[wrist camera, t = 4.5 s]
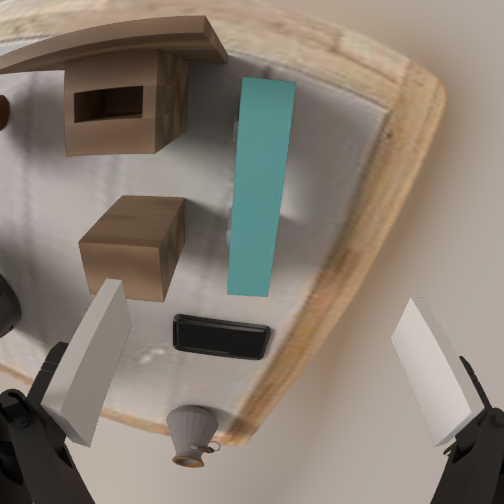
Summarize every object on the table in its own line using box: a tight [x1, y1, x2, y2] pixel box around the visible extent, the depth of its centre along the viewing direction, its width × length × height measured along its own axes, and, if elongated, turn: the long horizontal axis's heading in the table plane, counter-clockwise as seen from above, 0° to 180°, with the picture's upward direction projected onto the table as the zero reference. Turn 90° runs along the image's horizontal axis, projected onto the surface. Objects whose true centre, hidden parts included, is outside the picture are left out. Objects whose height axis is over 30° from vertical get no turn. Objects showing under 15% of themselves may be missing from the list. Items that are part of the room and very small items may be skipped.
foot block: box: [78, 196, 185, 302], centre depth 31 cm, size 6×8×12 cm
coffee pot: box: [166, 405, 220, 468], centre depth 51 cm, size 21×12×15 cm, turn 154°
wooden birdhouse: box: [0, 16, 228, 157], centre depth 21 cm, size 9×16×18 cm, turn 85°
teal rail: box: [227, 77, 296, 297], centre depth 29 cm, size 20×4×9 cm, turn 175°
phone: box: [173, 314, 270, 360], centre depth 47 cm, size 8×1×15 cm
